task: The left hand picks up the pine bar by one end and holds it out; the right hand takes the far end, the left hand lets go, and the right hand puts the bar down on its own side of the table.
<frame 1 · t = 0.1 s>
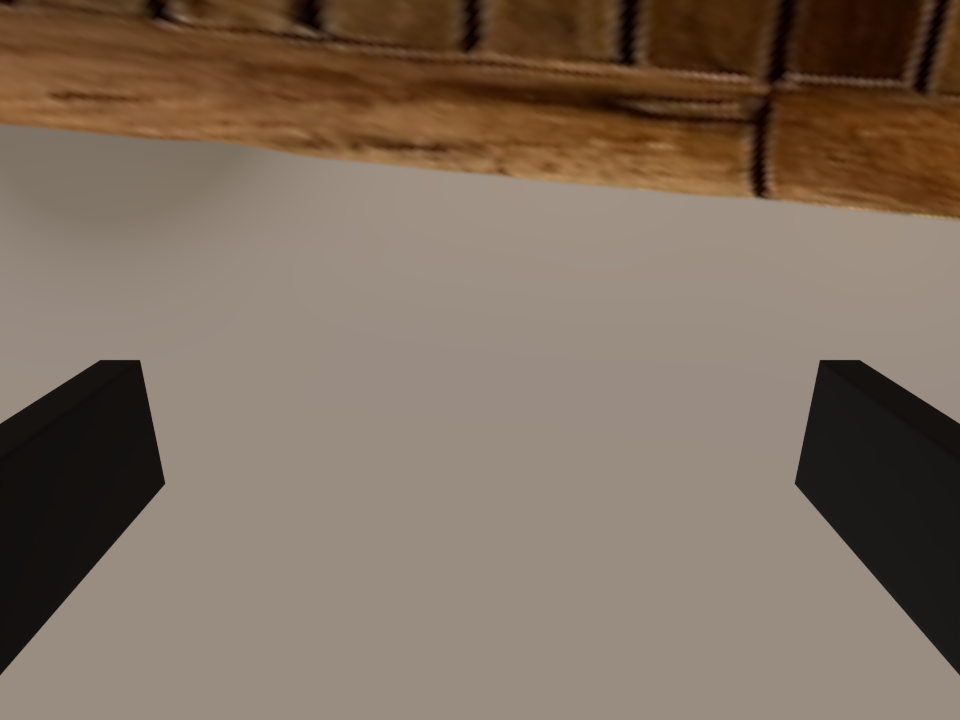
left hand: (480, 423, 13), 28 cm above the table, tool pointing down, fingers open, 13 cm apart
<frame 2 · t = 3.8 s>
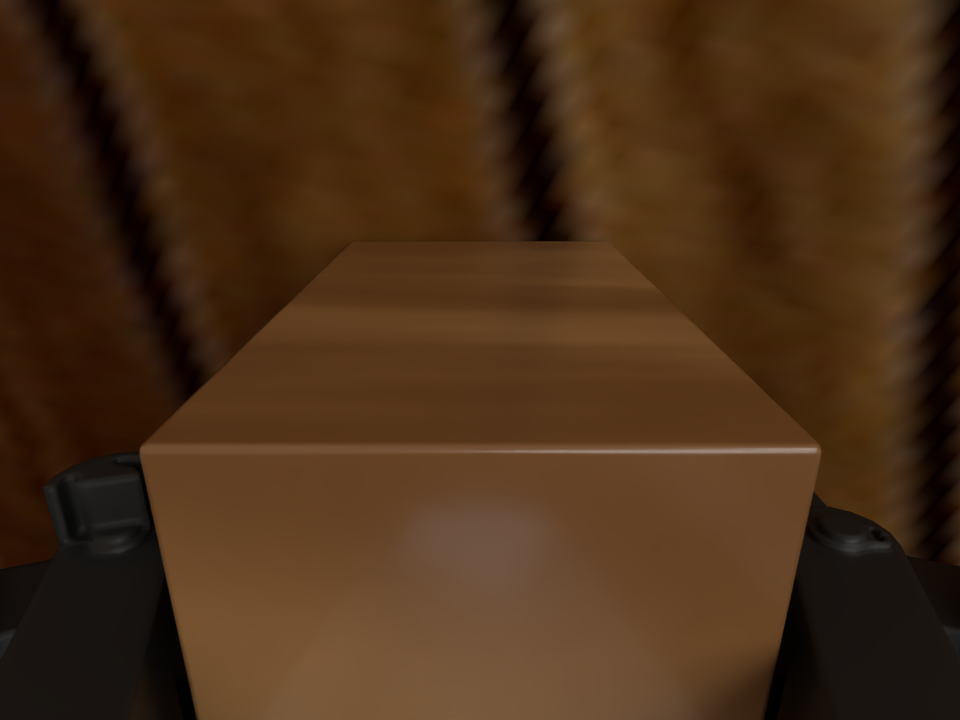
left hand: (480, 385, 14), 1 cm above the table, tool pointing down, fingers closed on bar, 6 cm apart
bar: (480, 716, 19), on the table, touching left hand
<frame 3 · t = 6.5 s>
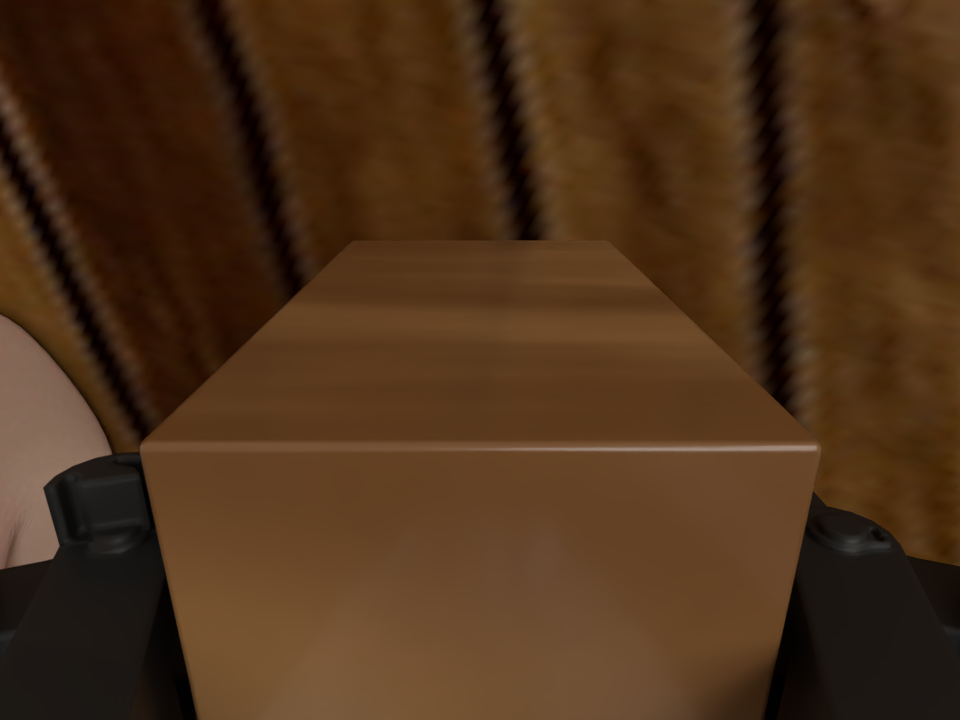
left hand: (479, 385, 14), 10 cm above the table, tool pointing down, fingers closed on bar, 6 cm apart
bar: (480, 715, 19), point 9 cm above the table, touching left hand
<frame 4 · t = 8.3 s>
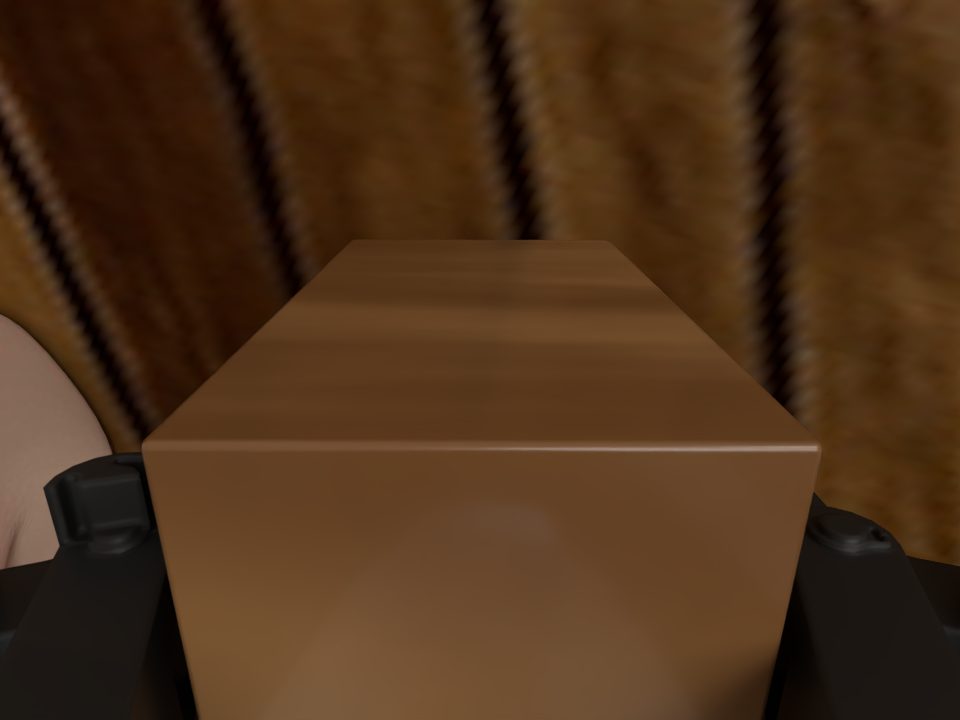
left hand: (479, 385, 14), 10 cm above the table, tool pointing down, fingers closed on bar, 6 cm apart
bar: (479, 714, 19), point 9 cm above the table, touching left hand, right hand
when the left hand's fingers open (10 cm above the table, at t = 9.1 s): bar stays where it is, held by the right hand.
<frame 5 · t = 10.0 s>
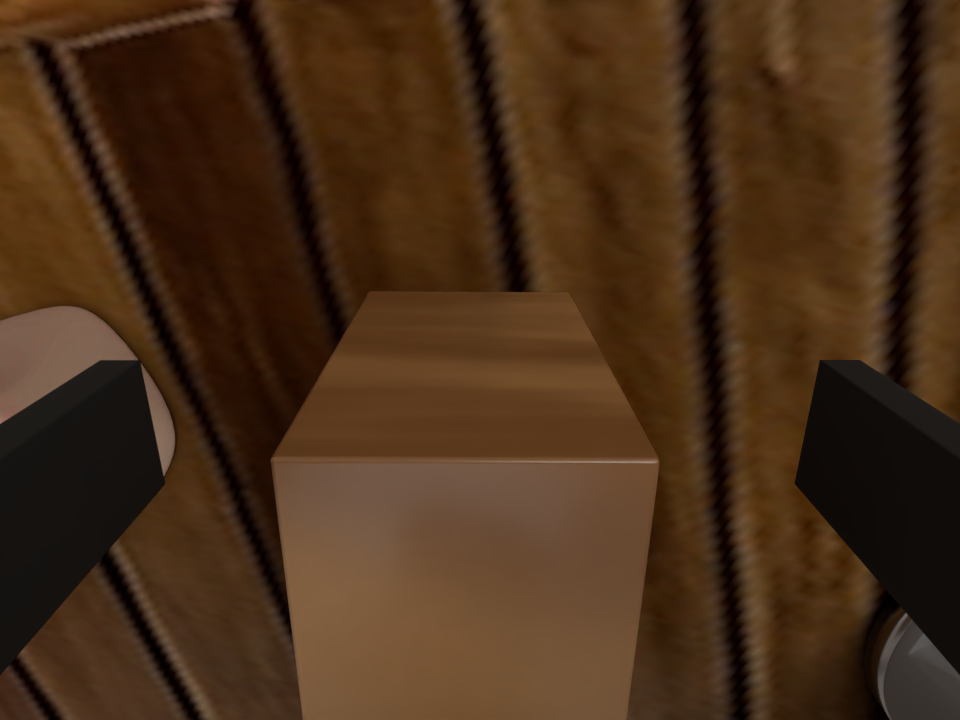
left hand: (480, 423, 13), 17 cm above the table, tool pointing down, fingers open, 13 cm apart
bar: (467, 671, 23), point 11 cm above the table, touching right hand
anatomical model: (60, 432, 32), on the table
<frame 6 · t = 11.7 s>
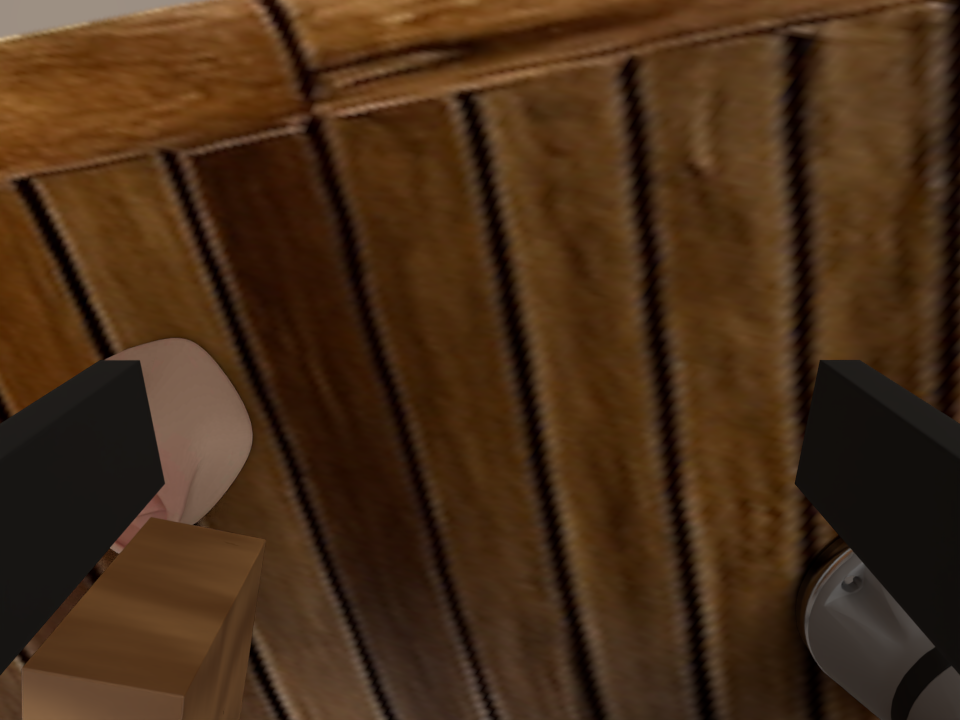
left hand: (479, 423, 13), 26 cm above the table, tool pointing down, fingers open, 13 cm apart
anatomical model: (165, 432, 41), on the table
when the right hand's fingers open (6 cm above the table, at t = 15.3 s): bar drops 2 cm, on the table.
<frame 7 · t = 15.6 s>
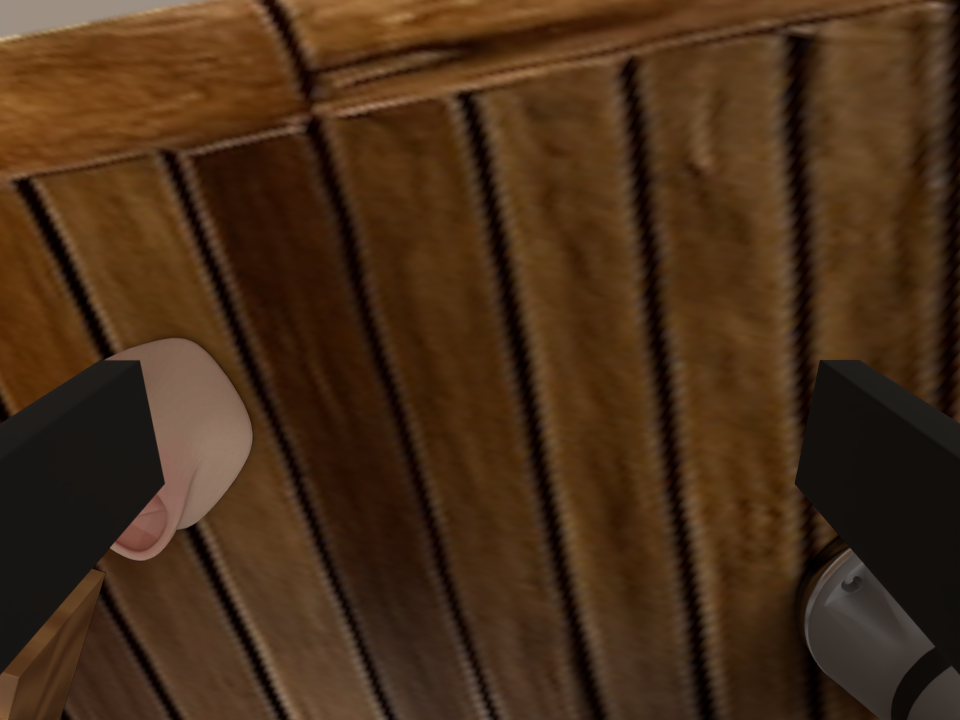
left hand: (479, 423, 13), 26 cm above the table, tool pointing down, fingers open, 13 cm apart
bar: (29, 692, 50), on the table
anatomical model: (165, 432, 41), on the table
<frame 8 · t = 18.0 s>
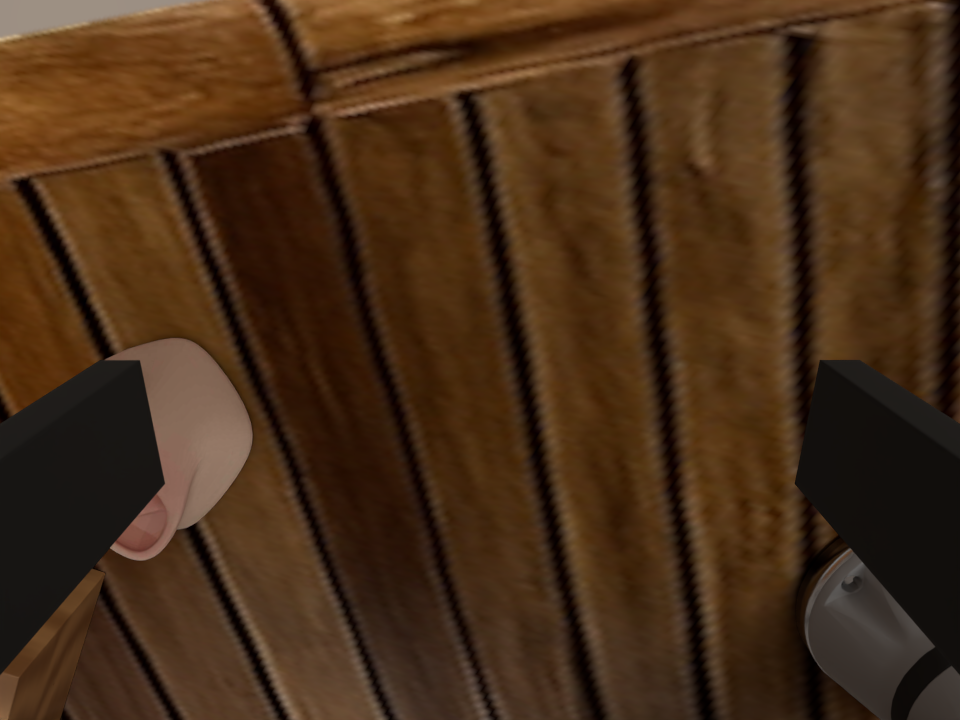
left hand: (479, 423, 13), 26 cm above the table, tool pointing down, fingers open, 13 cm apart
bar: (29, 692, 50), on the table
anatomical model: (165, 432, 41), on the table
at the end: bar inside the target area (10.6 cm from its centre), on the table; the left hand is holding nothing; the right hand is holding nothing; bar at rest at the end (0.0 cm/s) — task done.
